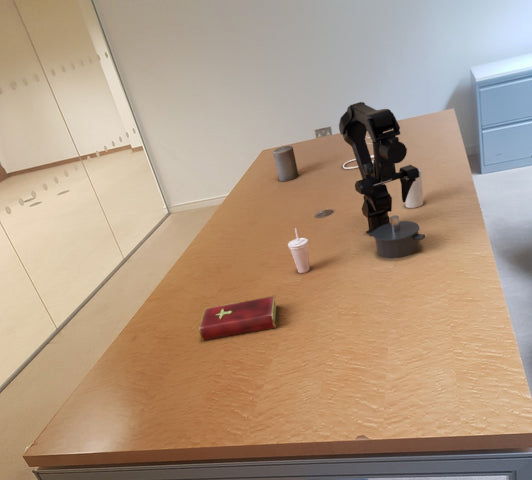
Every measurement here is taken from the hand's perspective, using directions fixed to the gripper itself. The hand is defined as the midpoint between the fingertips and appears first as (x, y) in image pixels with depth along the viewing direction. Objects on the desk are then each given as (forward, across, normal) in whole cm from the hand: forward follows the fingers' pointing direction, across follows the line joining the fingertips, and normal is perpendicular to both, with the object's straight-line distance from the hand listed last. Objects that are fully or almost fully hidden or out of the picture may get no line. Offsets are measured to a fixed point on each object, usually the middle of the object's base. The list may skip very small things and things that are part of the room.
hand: (390, 206), depth 174 cm
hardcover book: (+12, +56, +22) cm, 61 cm away
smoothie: (+12, +31, 0) cm, 33 cm away
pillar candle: (+13, +8, -106) cm, 107 cm away
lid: (+5, +2, +7) cm, 9 cm away
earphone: (+13, -25, -94) cm, 98 cm away
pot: (+12, +2, +7) cm, 14 cm away
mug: (+12, -20, -26) cm, 35 cm away
